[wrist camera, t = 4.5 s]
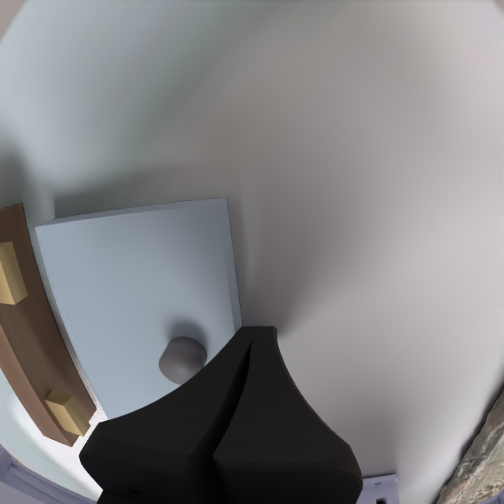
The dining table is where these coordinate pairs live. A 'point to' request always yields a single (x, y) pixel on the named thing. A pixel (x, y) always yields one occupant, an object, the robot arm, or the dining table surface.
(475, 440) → the long grey stone
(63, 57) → the dining table surface
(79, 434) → the brown long block
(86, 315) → the door panel
